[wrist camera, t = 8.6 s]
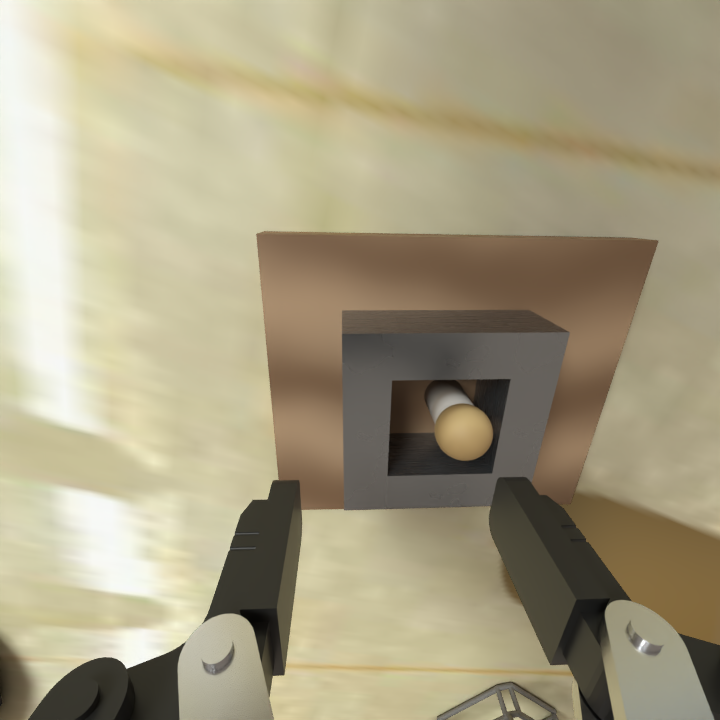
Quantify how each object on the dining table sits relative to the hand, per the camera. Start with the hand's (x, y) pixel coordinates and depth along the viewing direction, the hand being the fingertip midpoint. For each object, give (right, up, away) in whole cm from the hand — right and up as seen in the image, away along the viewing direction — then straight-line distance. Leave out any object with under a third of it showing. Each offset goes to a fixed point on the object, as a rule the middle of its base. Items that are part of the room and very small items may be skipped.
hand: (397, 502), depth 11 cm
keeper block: (+3, +3, +8) cm, 9 cm away
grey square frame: (+2, +3, +6) cm, 7 cm away
